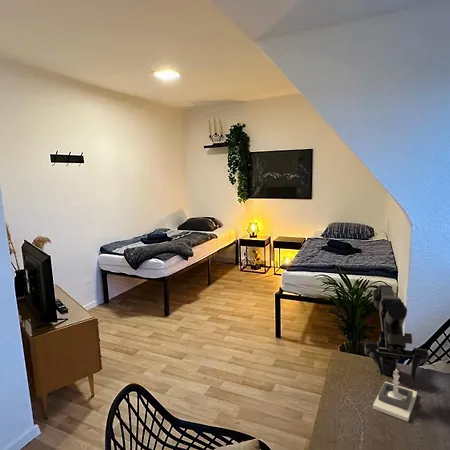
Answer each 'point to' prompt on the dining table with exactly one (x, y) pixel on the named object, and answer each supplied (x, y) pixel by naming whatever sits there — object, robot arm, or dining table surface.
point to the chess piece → (396, 387)
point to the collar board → (395, 402)
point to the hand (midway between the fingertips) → (396, 378)
